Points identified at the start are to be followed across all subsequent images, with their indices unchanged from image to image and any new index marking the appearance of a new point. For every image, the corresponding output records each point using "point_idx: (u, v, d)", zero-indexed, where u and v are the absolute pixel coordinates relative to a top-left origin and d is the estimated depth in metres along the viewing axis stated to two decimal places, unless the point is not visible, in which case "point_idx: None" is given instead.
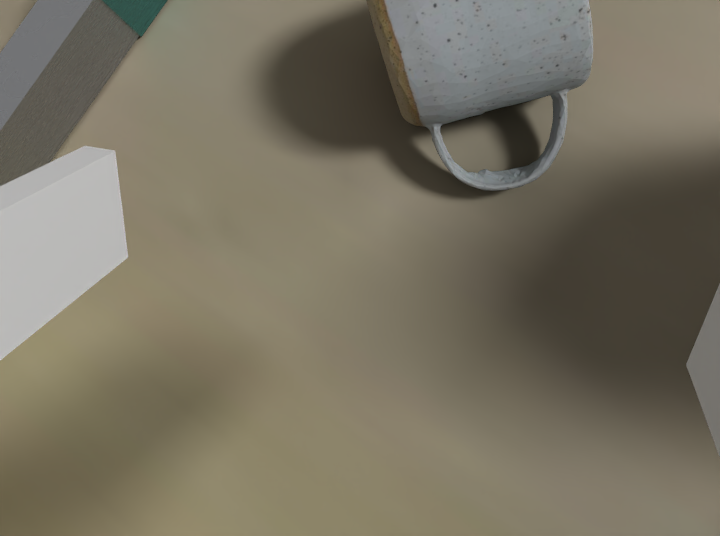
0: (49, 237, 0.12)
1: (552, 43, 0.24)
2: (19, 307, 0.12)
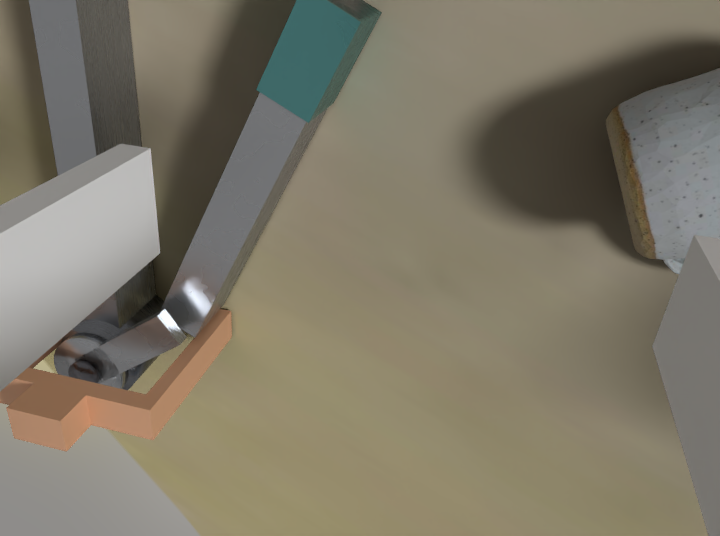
0: (91, 232, 0.13)
1: None
2: (63, 300, 0.12)
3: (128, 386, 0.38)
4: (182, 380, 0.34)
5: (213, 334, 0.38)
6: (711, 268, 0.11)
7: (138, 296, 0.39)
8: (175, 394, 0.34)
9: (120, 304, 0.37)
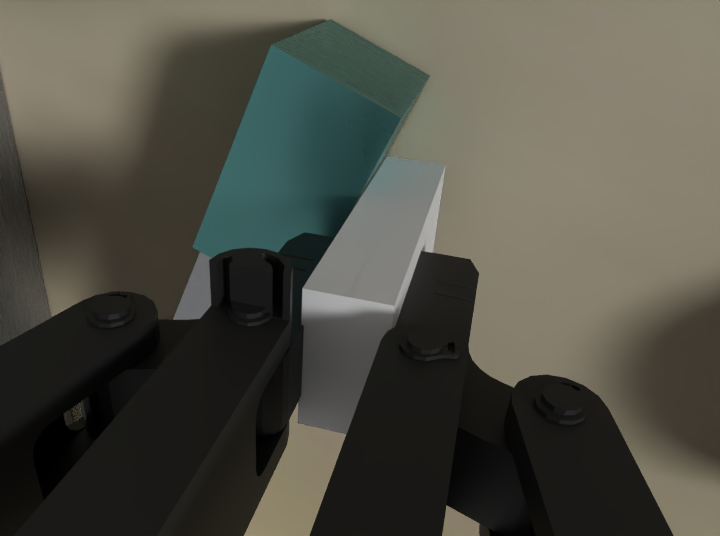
0: None
1: None
2: None
3: None
4: None
5: None
6: (404, 181, 0.14)
7: None
8: None
9: None
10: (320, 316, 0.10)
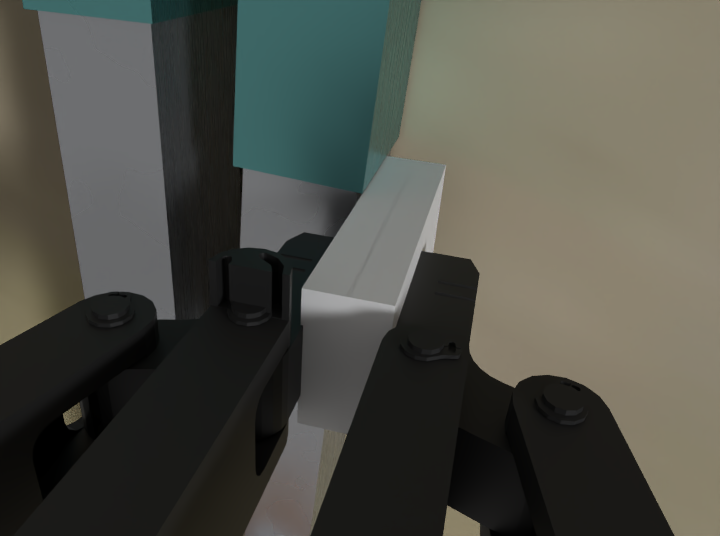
0: None
1: None
2: None
3: None
4: None
5: None
6: (404, 181, 0.14)
7: None
8: None
9: None
10: (319, 316, 0.10)
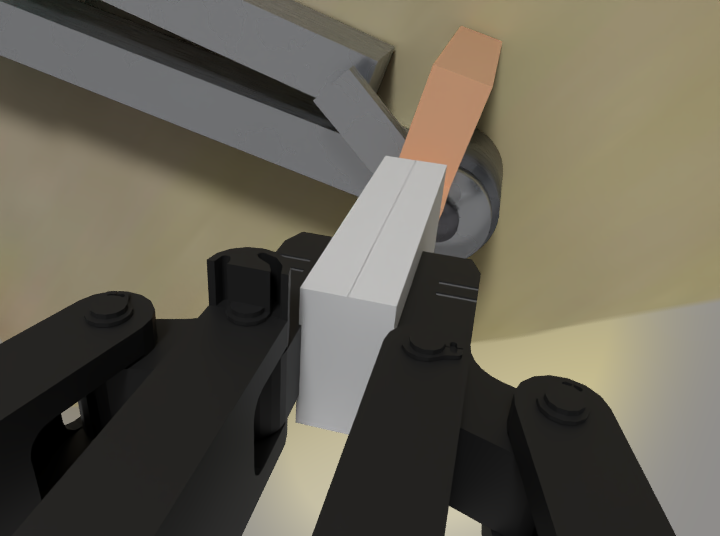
0: None
1: None
2: None
3: (488, 182, 0.26)
4: (460, 54, 0.22)
5: (458, 34, 0.26)
6: (405, 181, 0.14)
7: None
8: (467, 61, 0.22)
9: None
10: (317, 315, 0.10)
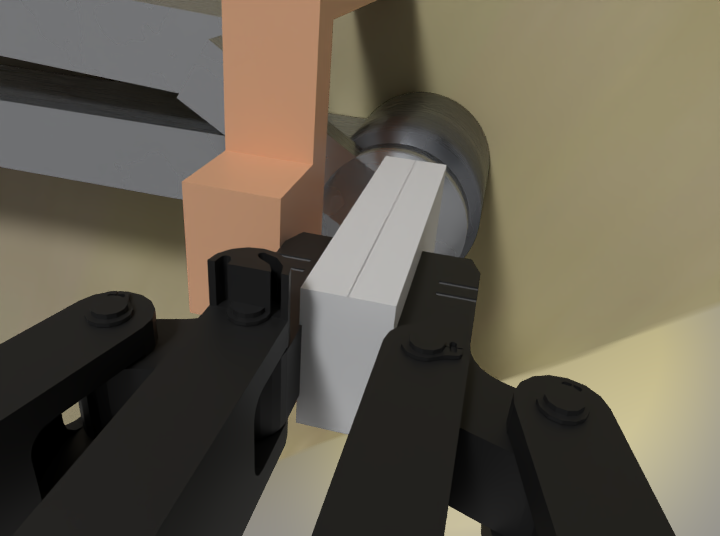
0: None
1: None
2: None
3: (452, 159, 0.18)
4: None
5: None
6: (405, 181, 0.14)
7: None
8: None
9: None
10: (318, 315, 0.10)
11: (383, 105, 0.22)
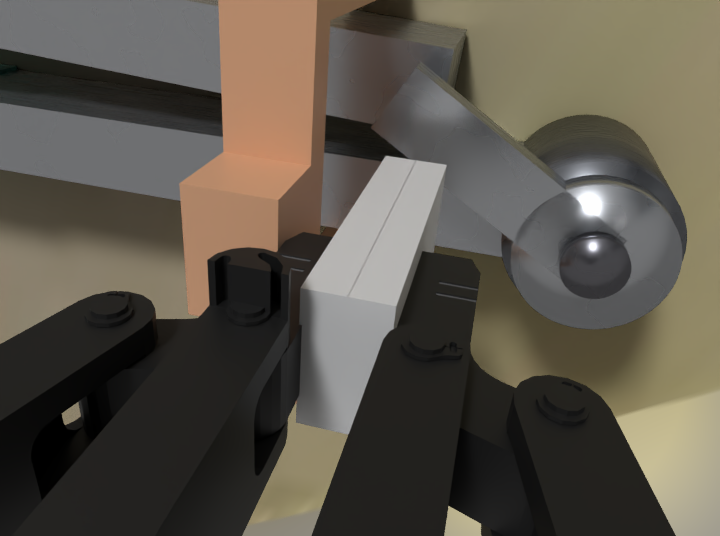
0: None
1: None
2: None
3: (662, 191, 0.17)
4: None
5: None
6: (405, 181, 0.14)
7: None
8: None
9: None
10: (318, 315, 0.10)
11: (549, 129, 0.21)
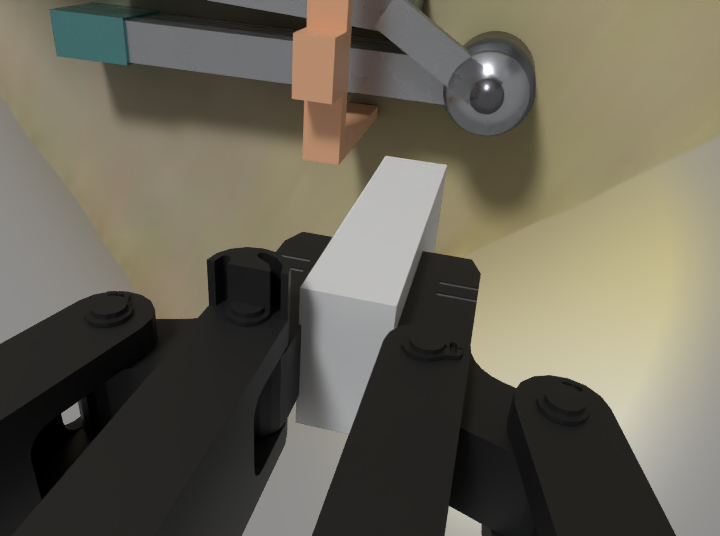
0: None
1: None
2: None
3: (521, 58, 0.33)
4: None
5: None
6: (405, 181, 0.14)
7: None
8: None
9: None
10: (317, 315, 0.10)
11: (473, 38, 0.37)
